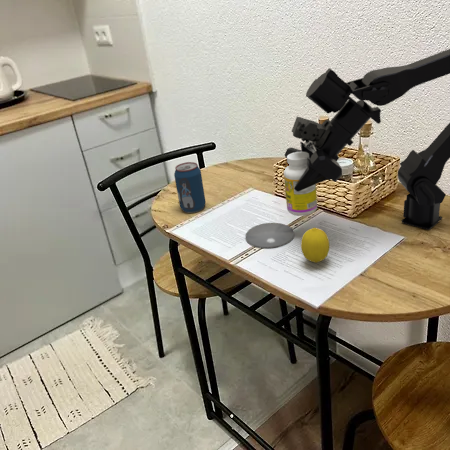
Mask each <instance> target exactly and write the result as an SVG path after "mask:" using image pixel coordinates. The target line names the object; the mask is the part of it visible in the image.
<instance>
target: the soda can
mask: <svg viewBox="0 0 450 450" xmlns="http://www.w3.org/2000/svg"><path fill="white" fill-rule="evenodd" d="M174 168H175V170H174V174H173V176H174V181H175V188H176V192H177V198H178V204H179V208H180V209H181V210H182V211H183V212H184V213H187V214H188V213H189V214H192V213H193V214H194V213H197V212H198V213H199V212H201V211H202V210H204V207H205V206H206V197H205V196H206V194H205V191H204V184H203V177H202V176H203V175H202V171H201V168H200V167H199V165H198V163H197V162H193V161H188V162H183V163H179V164H177V165H176V166H175V167H174Z"/></svg>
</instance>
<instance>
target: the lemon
mask: <svg viewBox="0 0 450 450" xmlns="http://www.w3.org/2000/svg"><path fill="white" fill-rule="evenodd" d="M300 243H301V244H300V246H301V252H302V255H303V256H304V258H306V260H307V261H308V262H309V261H310V262H312V263H314V264H317V263H319V262H322V261H324V260H325V258H326V257H327V256H328V254H329V251H330V240H329V238H328V235H327V233H326V232H325V231H324V230H323V229H320V228H317V227H312V228H309V229H307V230H306V231H305V232H304V234H303V235H302V238H301V242H300Z"/></svg>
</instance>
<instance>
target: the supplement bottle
mask: <svg viewBox="0 0 450 450" xmlns="http://www.w3.org/2000/svg"><path fill="white" fill-rule="evenodd" d="M307 158H309V159H310V157H309V154H308V153H307V152H294V153H291V154H289V155H288V156H287V159H286V162H287V163H288V164H289V166H287V167H286V168H285V167H284V168H285V170H283V180H284V190H285V191H284V192H285V201H286V203H285V204H286V209H287V212H288V213H289V214H291V215H292V216H293V215H294V216H298V217H299V216H300V217H301V216H303V217H304V216H309V215H312V214H313V213H314V212H316V211H317V209H318V196H317V184H315V185H312V186H310V187H308V188H305V189H303V190H301V191H298V192H297V191H296V190H295V189H294V187H295V186H296V184H297V182H298V181H299V179H300V178H301V176H302V175H303V173H304V172H305V170H306V169H307Z"/></svg>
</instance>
